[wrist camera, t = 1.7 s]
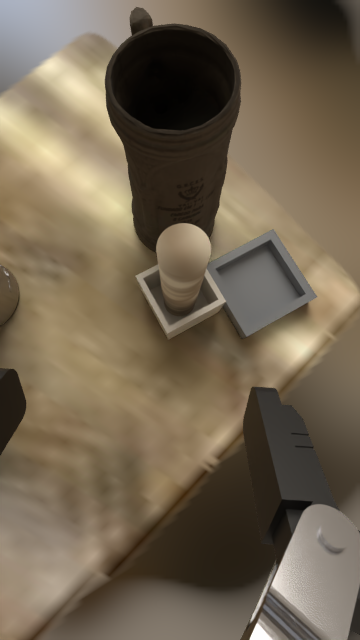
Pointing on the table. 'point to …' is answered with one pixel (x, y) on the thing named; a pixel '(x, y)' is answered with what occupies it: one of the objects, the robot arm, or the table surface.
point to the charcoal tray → (259, 283)
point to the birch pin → (182, 265)
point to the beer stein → (173, 121)
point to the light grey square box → (174, 325)
